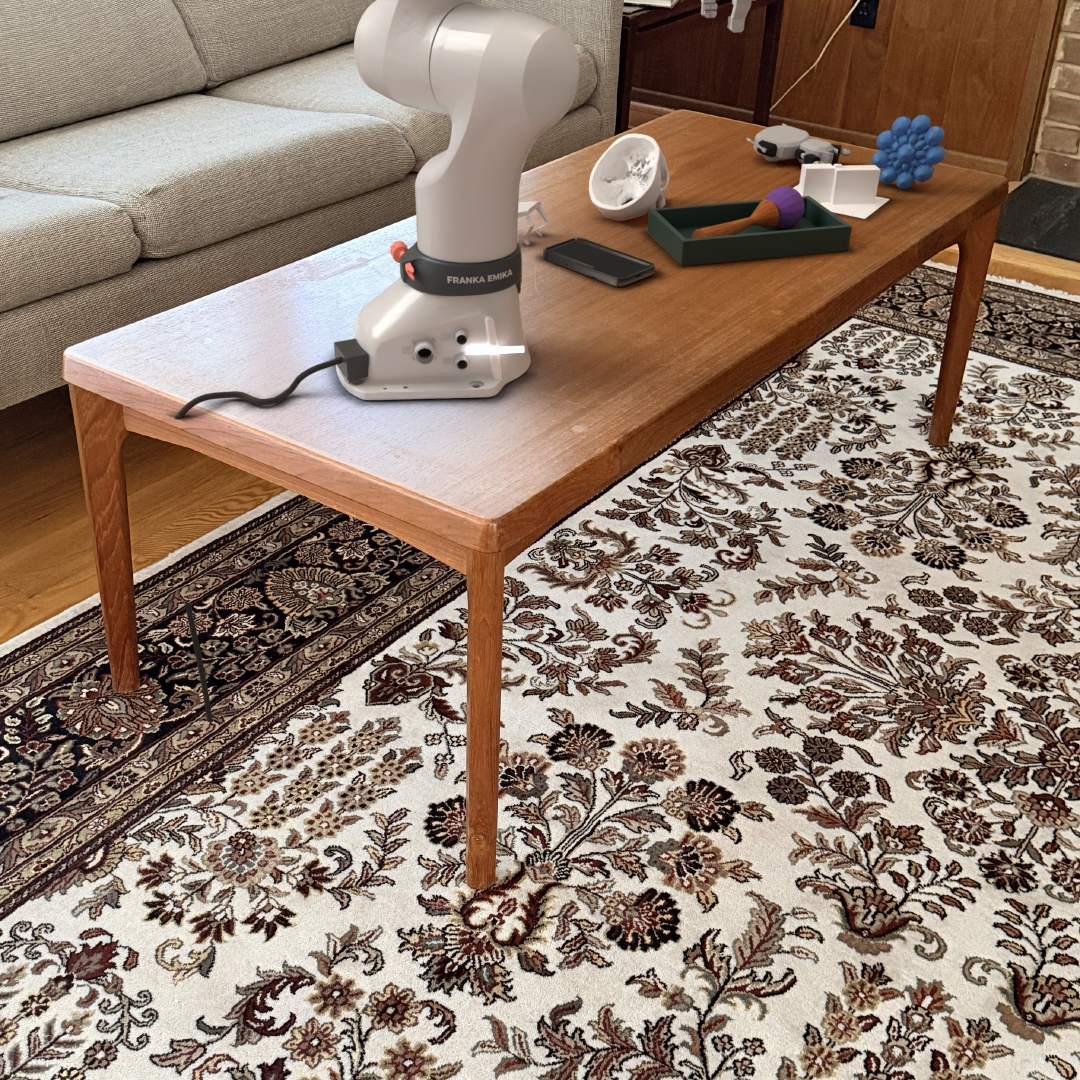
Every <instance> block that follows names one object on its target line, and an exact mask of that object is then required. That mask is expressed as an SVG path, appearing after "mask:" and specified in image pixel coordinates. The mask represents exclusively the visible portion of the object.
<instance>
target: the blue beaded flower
mask: <svg viewBox="0 0 1080 1080" xmlns="http://www.w3.org/2000/svg"><path fill="white" fill-rule="evenodd" d="M931 123H932V120H931V119H930V116H929V115H926V114H920V115H917V116H916V117H914V118H913V119H912V120H911V118H909V117H907V116H904V115H902V116H900V117H898V118H896V119H895V120H894V121H893V122H892V126H891V130H889V129H887V130H883V131H882V132H881V133H879V134H878V135H877V139H876V142H875V144H876V146H877V148H878V150H877V151H876V152H874V154H873V155H872V157H871V165H876V166H877V167H878V168H879V169H880V176H879V180H880V182H881V183H882V184H885V185H890V184H893V183H894V182H895V184H896V187H897V188H898V189H900V190H908V189H910V188H912V187H913V185H915V182H916V181H917V182H920V183H924V182H928V181H929V180H930V179H931V178H932V177H933V175H934V171H935V168H934V166H936V165H939V164H940V163H941V162H943V160H944V159H945V157H946V152H947V151H946V149H945V147H944V146H942V145H939V144H941V142H942V141H943V140H944V137H945V130H944V129H943V127H941V126H937V125H934V126H931Z"/></svg>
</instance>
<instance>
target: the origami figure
mask: <svg viewBox="0 0 1080 1080" xmlns="http://www.w3.org/2000/svg"><path fill="white" fill-rule="evenodd" d="M535 210H536V211H537V212H538V214H539V215H540V217H541V218H542V220H543V221H544V222H545V223H543V224H542V225H540V226H539V227H537V228H535V230H534V232H535V234H537V236H539V237H542V236H543V234H542V233H541V232H540V231H539V230H540V229H542V228H544V227H546V226H548V225H549V224H550V223H551V222H550V220H549V218H548V216H547V214H546V212H545V211H544V209H543V207H542V201H540V200H534V201H533V200H531V201H519V202H518V219H519V218H523V217H525V219H526V220H527V223H528V224H529V228H528V230H527V232H526V234H525V236H524V238H523V241H524V244H525V246H529V245H530V242H529V240H528V237H529V236H530V233H531V232H532V231H533V229H534V227H535V226H536V224H535V223H534V221H533V220H532V218H531V217H530V214H531V213H533V212H534V211H535Z"/></svg>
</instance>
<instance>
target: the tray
mask: <svg viewBox="0 0 1080 1080" xmlns="http://www.w3.org/2000/svg"><path fill="white" fill-rule="evenodd" d="M802 198H803V201H804V205H805V208H804V214H803V216H802V218H801V219H800V221H799V222H798V223H797V224H796V225H794V226H793V227H790V228H787V229H778V228H775V227H774V228H765V227H761V226H756V225H751V226H749V227H747V228H746V229H744V230H742V231H741V232H739V233H737V234H735V235H726V236H715V237H703V238H692V235H693V232H694V231H695V230H697V229H702V228H706V227H710V226H714V225H719V224H723V223H727V222H731V221H736V220H740V219H744V218H749V217H750V216H751V215H752V213H753V212H754V211H755V209H756V208H757V206H758V205H759V203H760V202H761V201H763V200H764V199H755V200H754V199H752V200H742V201H741V200H740V201H730V202H729V201H728V202H717V203H706V204H705V203H704V204H691V205H680V206H670V207H669V206H668V207H663V208H657V207H656V208H655V209H649V213H648V217H647V220H648V221H647V230H646V231H647V234H648V235H649V236H650V237H651V238H652V239H653V240H654V241H655V242H656V243H657V244H658V245H659V246H660V247H661V248H662V249H663V250H664V251H665V252H666V253H667V254H668V255H669V256H670V257H671V259H673V260H674V261H675V262H676V263H678V265H679V266H680V267H689V266H699V265H709V264H721V263H730V262H741V261H752V260H753V261H754V260H763V259H773V258H784V257H795V256H805V255H816V254H817V255H818V254H827V253H828V254H829V253H838V252H848V251H849V248H850V241H851V235H852V231H853V230H852V229H853V226H852V225H851V224H850V223H848V222H847V221H845V220H844V219H842V218H841V217H840V216H838V215H837V214H836V213H834V212H831V211H830V210H828V209H827V208H825V207H824V206H823V205H821V204H820V203H818V202H817V201H815V200H814V199H813V198H811V197H810V196H802Z"/></svg>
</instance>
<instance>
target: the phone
mask: <svg viewBox="0 0 1080 1080" xmlns="http://www.w3.org/2000/svg"><path fill="white" fill-rule="evenodd" d="M542 252H543V253H542V258H543V259H544V260H546V261H548V262H551V263H553V264H556V265H558V266H561V267H564V268H566V269H568V270H572V271H574V272H576V273H579V274H582V275H585V276H587V277H590V278H593V279H596V280H598V281H600V282H603V283H605V284H608V285H610V286H613V287H619V288H621V287H626V286H629V285H631V284H634V283H636V282H638V281H641V280H644V279H645V278H646V279H647V278H649V277H651V276H654V275H655V272H656V264H655V263H654V262H650V261H648V260H645V259H642V258H639V257H637V256H634V255H631V254H628V253H625V252H622V251H619V250H617V249H614V248H612V247H609V246H606V245H603V244H601V243H597V242H595V241H592V240H589V239H586V238H583V237H573V238H570V239H566V240H564V241H560V242H558V243H555V244H552V245H550V246H547V247H544V248H543V249H542Z"/></svg>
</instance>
